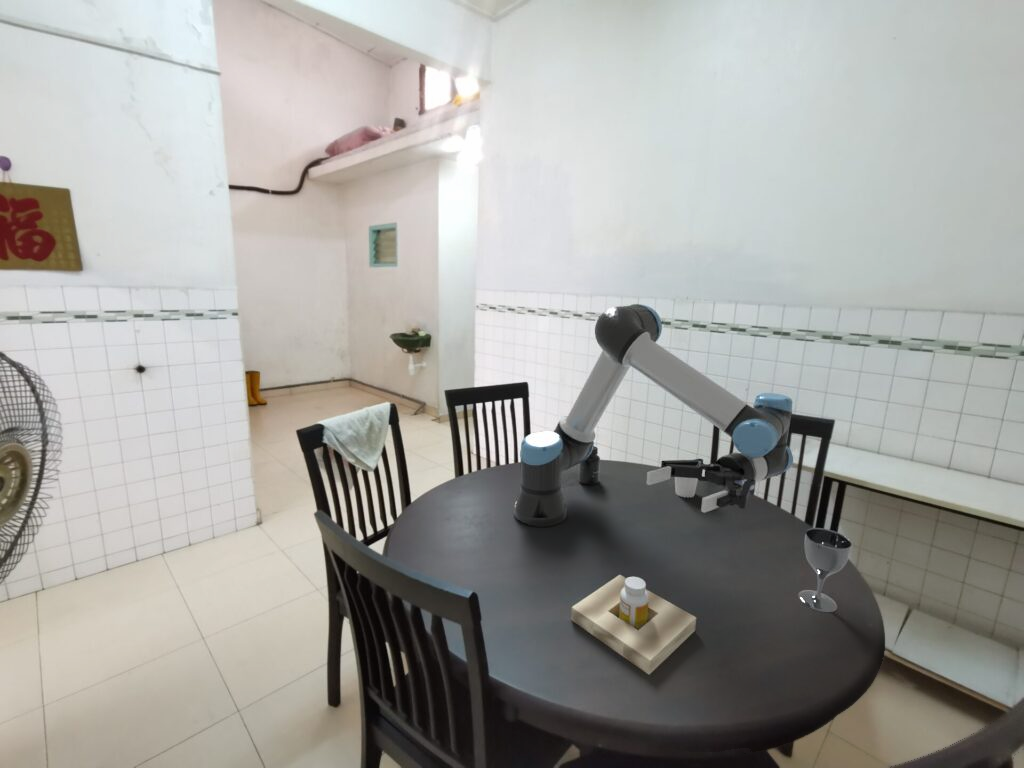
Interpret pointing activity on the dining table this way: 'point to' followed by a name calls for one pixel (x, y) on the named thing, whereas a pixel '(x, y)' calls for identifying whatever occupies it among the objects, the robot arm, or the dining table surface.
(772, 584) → the dining table surface
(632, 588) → the supplement bottle
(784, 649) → the dining table surface
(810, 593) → the wine glass
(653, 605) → the socket block
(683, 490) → the dixie cup
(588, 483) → the supplement bottle
